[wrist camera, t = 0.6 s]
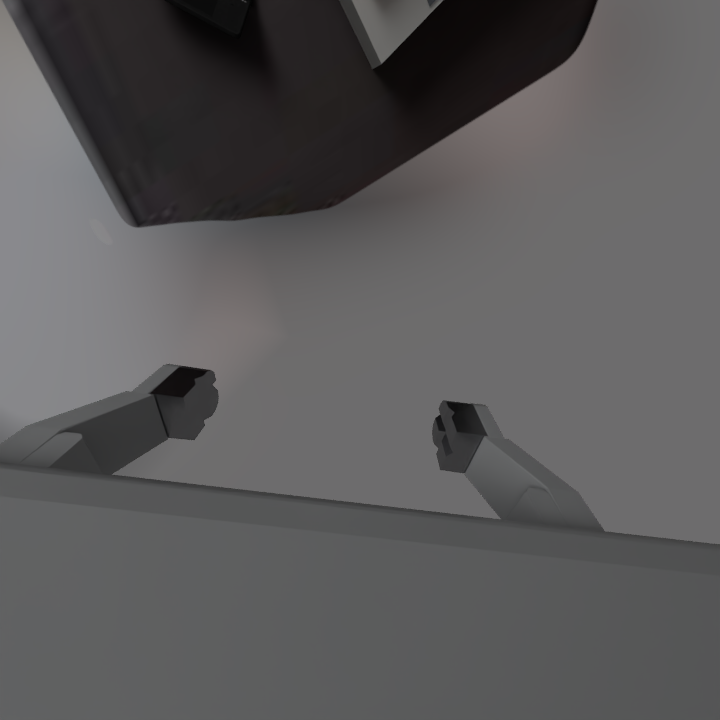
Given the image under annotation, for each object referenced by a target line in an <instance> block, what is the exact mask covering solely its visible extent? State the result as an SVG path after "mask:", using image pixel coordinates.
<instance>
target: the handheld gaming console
mask: <svg viewBox="0 0 720 720" xmlns="http://www.w3.org/2000/svg"><path fill="white" fill-rule="evenodd" d="M165 1H167V2H169V3H171V4H172V5H174V6H176V7H178V8H180V9H182V10H184V11H186V12H187V13H189V14H191V15H193V16H195V17H197V18H199V19H200V20H202V21H204V22H206V23H208V24H210V25H212V26H214V27H215V28H217V29H219V30H221V31H223V32H225V33H227V34H228V35H230V36H232V37H234V38H237V39H238V38H240V36H241V33H242V30H243V27H244V24H245V20H246V17H247V14H248V11H249V8H250V6H252V0H165Z"/></svg>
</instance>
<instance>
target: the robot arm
mask: <svg viewBox="0 0 720 720" xmlns="http://www.w3.org/2000/svg"><path fill="white" fill-rule="evenodd" d="M215 381H216V378H215V374H214V372H213V371H211V370H206V369H199V368H193V367H186V366H178V365H170V364H167V365H163V366H162V367H161V368H160V369H158V370H157V371H156V372H155V373H154V374H152V376H150V377H149V378H148V379H146V380H145V381H144V382H143V383H142V384H140V385H139V386H138V387H137V388H135V389H134V390H133V391H132V392H129V391H126V392H123V393H120V394H117V395H114V396H112V397H108V398H106V399H103V400H100V401H97V402H94V403H91V404H88V405H85V406H82V407H80V408H77V409H74V410H71V411H68V412H66V413H63V414H59V415H57V416H54V417H51V418H48V419H45V420H42V421H39V422H36V423H34V424H31V425H28V426H26V427H24V428H23V429H21V430H20V431H18V432H17V433H15V434H14V435H13V436H11V437H10V438H8V439H7V440H5V441H4V442H2V443H1V444H0V720H720V544H709V543H701V542H692V541H684V540H675V539H666V538H657V537H648V536H639V535H631V534H622V533H613V532H605V531H604V529H603V528H602V527H601V525H600V524H599V522H598V521H597V519H596V518H595V516H594V515H593V513H592V512H591V510H590V509H589V507H588V506H587V504H586V503H585V502H584V500H583V499H582V497H581V495H580V494H579V493H578V492H577V491H576V490H574V489H573V488H572V487H571V486H569V485H568V484H567V483H565V482H564V481H563V480H562V479H560V478H559V477H558V476H556V475H555V474H554V473H552V472H551V471H549V470H548V469H547V468H546V467H544V466H543V465H542V464H541V463H539V462H538V461H537V460H535V459H534V458H533V457H531V456H530V455H528V454H527V453H526V452H525V451H523V450H522V449H521V448H520V447H518V446H517V445H516V444H514V443H513V442H512V441H511V440H509V439H504V437H503V435H502V433H501V431H500V429H499V427H498V426H497V424H496V422H495V420H494V418H493V416H492V414H491V413H490V411H489V409H488V407H487V406H486V405H482V404H467V403H460V402H451V401H442V403H441V405H440V407H439V411H440V415H439V416H438V417H436V418H435V421H434V424H433V430H432V435H433V442H434V444H435V445H436V446H437V447H438V451H437V458H438V462H439V466H440V470H446V471H452V472H459V473H465V476H466V477H467V478H468V479H469V481H470V482H471V483H472V484H473V485H474V487H475V488H476V489H477V490H478V492H479V493H480V494H481V495H482V496H483V498H484V499H485V500H486V501H487V503H488V504H489V505H490V506H491V507H492V508H493V510H494V511H495V512H496V513H497V515H498V516H499V517H500V518H501V519H492V518H483V517H474V516H466V515H457V514H448V513H440V512H431V511H423V510H413V509H404V508H396V507H388V506H379V505H370V504H362V503H353V502H344V501H336V500H326V499H317V498H310V497H301V496H292V495H284V494H275V493H266V492H257V491H248V490H240V489H231V488H223V487H214V486H205V485H196V484H187V483H179V482H170V481H161V480H153V479H144V478H136V477H126V476H118V475H111V474H113V473H114V472H116V471H118V470H119V469H121V468H122V467H124V466H126V465H127V464H128V463H130V462H132V461H133V460H135V459H137V458H138V457H140V456H142V455H143V454H145V453H146V452H148V451H150V450H151V449H153V448H154V447H156V446H157V445H159V444H161V443H162V442H164V441H166V440H167V439H168V438H178V439H187V440H195V438H196V437H197V436H198V434H199V433H200V432H201V430H202V429H203V427H204V426H205V424H204V420H205V419H207V418H209V417H211V416H212V415H213V413H214V412H215V410H216V407H217V404H218V390H217V389H216V388H215V387H214V386H213V383H214V382H215Z"/></svg>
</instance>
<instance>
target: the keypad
mask: <svg viewBox="0 0 720 720" xmlns="http://www.w3.org/2000/svg"><path fill="white" fill-rule="evenodd" d="M339 1H340V3H341V5H342V7H343V10H344V12H345V14H346V16H347V18H348V20H349V22H350V24H351V26H352V28H353V30H354V32H355V34H356V36H357V38H358V40H359V43H360V45H361V47H362V49H363V51H364V53H365V55H366V57H367V59H368V61H369V63H370V65H371V67H372V69H374V68H376V67H377V66H379V65H381V64H382V63H383V62H384V61H385V60H386V59H387V58H388V57H389V56H390V55H391V54H392V53H393V52H394V51H395V50H396V49H397V48H398V47H399V45H400V44H401V43H402V42H403V41H404V40H405V39H406V38H407V37H408V36H409V35H410V34H411V33H412V32H413V31H414V30H415V29H416V28H417V27H418V26H419V25H420V24H421V23H422V22H423V21H424V20H425V19H426V18H427V17H428V15H429V14H430V13H431V12H432V11H433V10H434V9H435V8H436V7H437V6H438V5H439V4H440V3H441V2H442V1H443V0H339Z"/></svg>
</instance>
